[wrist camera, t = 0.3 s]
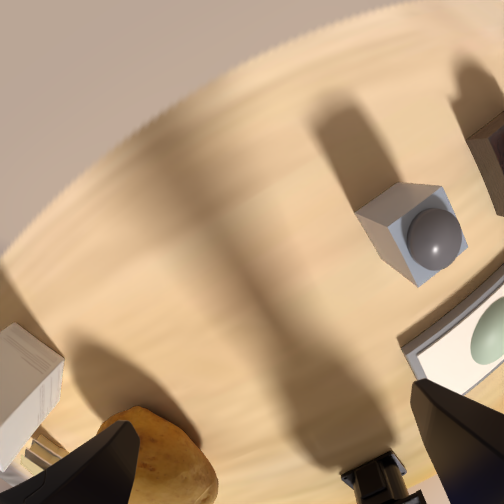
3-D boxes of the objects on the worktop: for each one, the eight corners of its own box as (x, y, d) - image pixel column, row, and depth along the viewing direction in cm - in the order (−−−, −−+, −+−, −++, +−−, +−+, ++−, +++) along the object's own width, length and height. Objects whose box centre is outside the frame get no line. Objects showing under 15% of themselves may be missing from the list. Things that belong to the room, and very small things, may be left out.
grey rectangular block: (421, 228, 21) (475, 250, 14) (381, 258, 21) (424, 292, 14) (397, 182, 20) (449, 186, 13) (354, 212, 21) (393, 229, 14)
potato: (156, 380, 24) (115, 463, 15) (240, 459, 27) (233, 538, 17) (93, 411, 26) (51, 475, 16) (171, 478, 28) (152, 543, 19)
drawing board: (547, 305, 22) (555, 310, 20) (430, 409, 25) (436, 418, 23) (534, 230, 20) (544, 233, 18) (400, 348, 23) (407, 357, 21)
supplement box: (14, 318, 24) (-67, 377, 12) (67, 358, 25) (-8, 439, 12) (12, 366, 26) (-51, 425, 13) (60, 402, 26) (4, 475, 14)
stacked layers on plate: (28, 441, 30) (11, 463, 25) (32, 415, 28) (12, 440, 23) (82, 479, 31) (69, 504, 26) (94, 460, 29) (79, 489, 24)
